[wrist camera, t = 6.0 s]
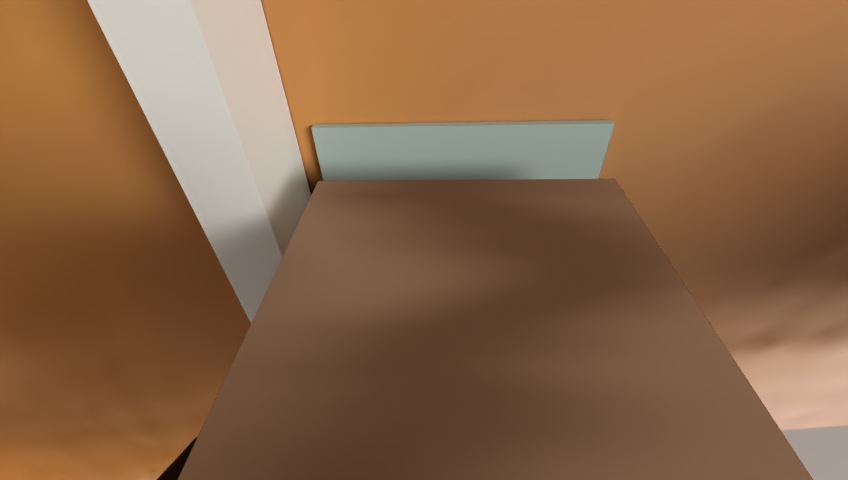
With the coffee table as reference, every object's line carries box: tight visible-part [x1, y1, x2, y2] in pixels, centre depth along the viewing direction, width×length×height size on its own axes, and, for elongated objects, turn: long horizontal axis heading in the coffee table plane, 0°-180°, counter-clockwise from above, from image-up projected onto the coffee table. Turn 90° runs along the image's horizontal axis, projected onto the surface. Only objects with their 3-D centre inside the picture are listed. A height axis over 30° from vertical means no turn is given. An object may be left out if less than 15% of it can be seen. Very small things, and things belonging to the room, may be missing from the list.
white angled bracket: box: [87, 0, 311, 323], centre depth 10 cm, size 14×14×2 cm
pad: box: [311, 120, 615, 181], centre depth 11 cm, size 7×7×1 cm
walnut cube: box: [178, 179, 813, 480], centre depth 7 cm, size 6×6×6 cm
